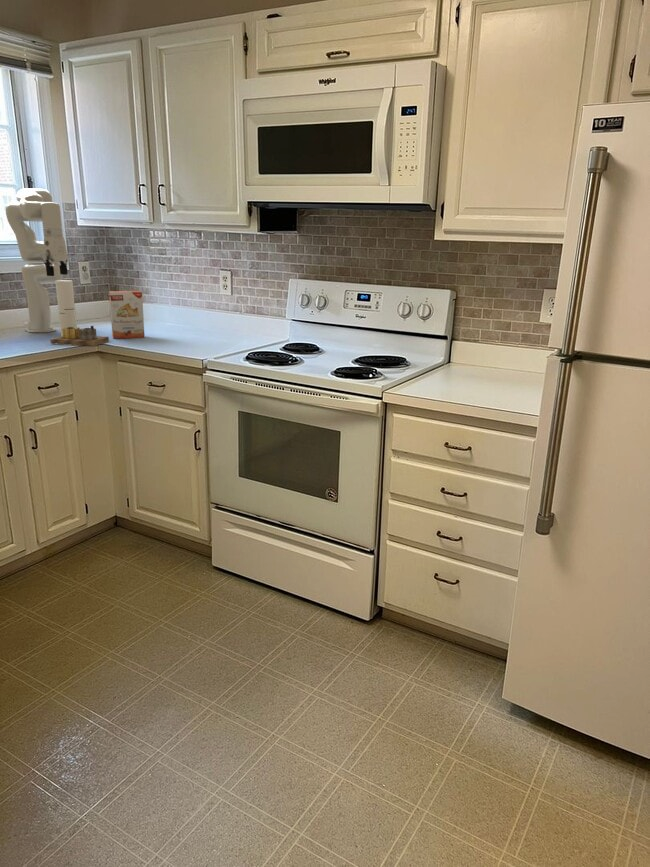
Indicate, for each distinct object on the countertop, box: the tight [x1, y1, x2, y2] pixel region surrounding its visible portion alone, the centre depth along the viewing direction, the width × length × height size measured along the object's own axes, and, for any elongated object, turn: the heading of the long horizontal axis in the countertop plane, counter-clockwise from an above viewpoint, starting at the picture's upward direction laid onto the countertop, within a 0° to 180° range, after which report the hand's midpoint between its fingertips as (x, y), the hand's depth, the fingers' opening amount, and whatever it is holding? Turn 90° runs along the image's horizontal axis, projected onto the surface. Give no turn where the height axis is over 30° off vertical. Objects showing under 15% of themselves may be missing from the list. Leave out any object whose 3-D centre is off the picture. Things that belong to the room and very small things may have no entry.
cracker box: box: [108, 290, 145, 340], centre depth 294 cm, size 14×6×21 cm, turn 112°
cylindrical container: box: [54, 279, 78, 337], centre depth 293 cm, size 7×7×25 cm
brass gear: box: [62, 326, 80, 339], centre depth 281 cm, size 7×7×4 cm
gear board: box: [50, 325, 110, 347], centre depth 280 cm, size 20×13×8 cm, turn 79°
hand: (57, 275), depth 277 cm, fingers open, 9 cm apart
